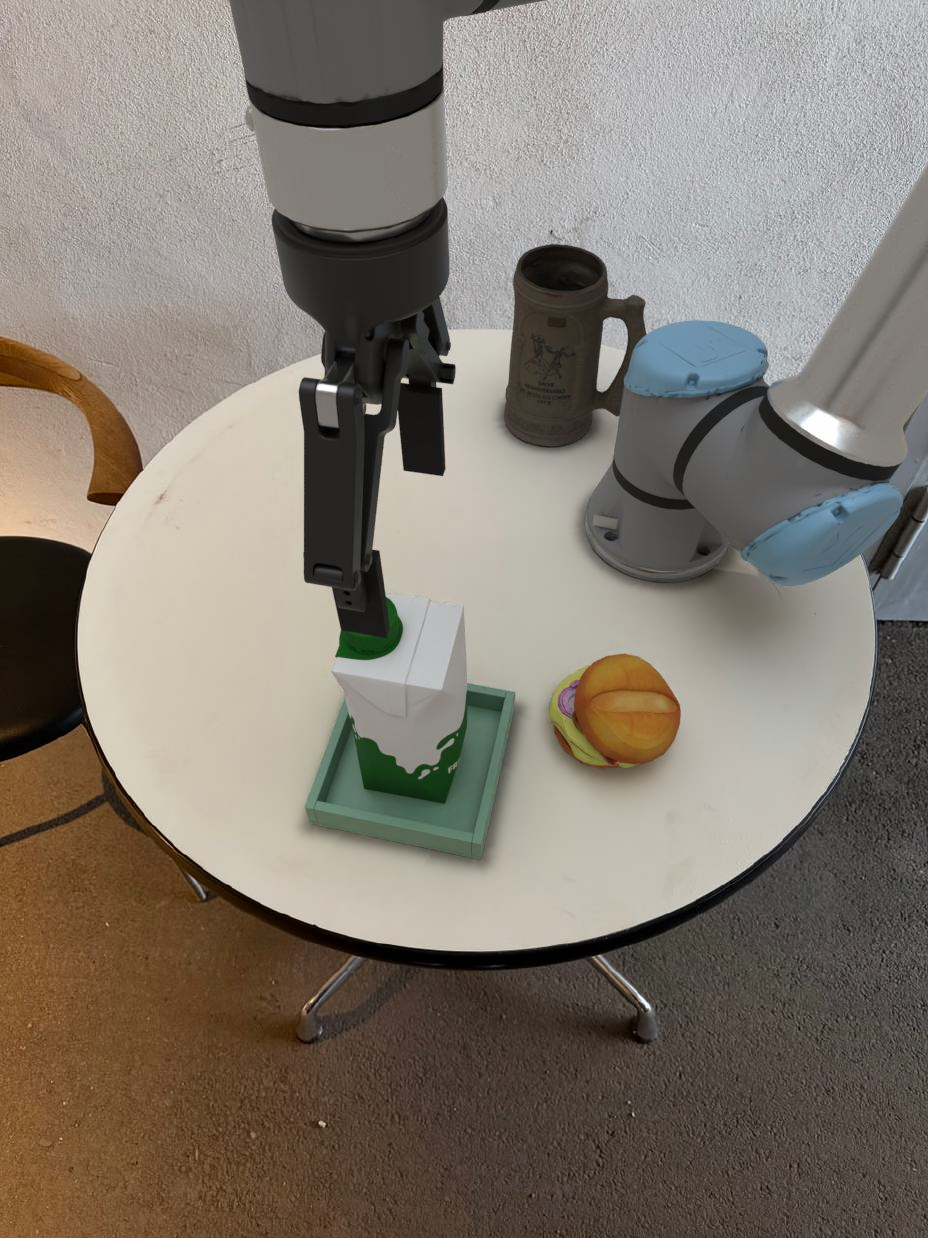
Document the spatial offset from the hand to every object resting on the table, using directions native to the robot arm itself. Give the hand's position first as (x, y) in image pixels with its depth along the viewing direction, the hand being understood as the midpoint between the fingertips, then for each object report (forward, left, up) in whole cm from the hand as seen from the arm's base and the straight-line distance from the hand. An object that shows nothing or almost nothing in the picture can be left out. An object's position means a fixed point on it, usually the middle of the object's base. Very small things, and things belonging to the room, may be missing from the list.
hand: (397, 543), depth 53 cm
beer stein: (-6, -49, -28) cm, 57 cm away
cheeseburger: (-16, -7, -28) cm, 33 cm away
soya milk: (0, 0, -28) cm, 28 cm away
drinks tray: (0, 0, -28) cm, 28 cm away
